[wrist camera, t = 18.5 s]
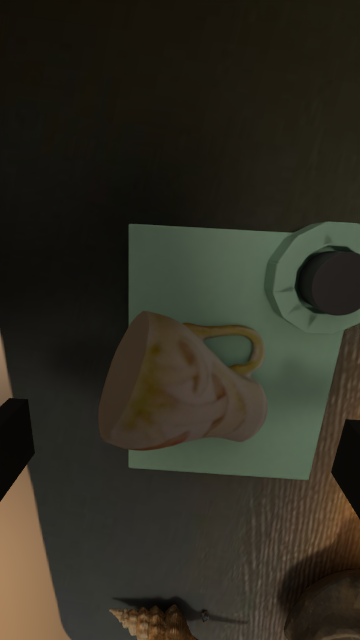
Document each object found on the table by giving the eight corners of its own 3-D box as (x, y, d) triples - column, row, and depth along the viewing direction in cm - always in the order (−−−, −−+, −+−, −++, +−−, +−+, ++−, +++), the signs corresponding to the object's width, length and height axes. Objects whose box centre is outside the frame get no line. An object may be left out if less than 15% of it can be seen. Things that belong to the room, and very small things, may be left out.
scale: (133, 216, 17) (120, 210, 14) (360, 228, 17) (402, 225, 14) (132, 451, 23) (122, 488, 19) (306, 463, 22) (327, 502, 19)
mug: (238, 436, 20) (158, 562, 12) (152, 346, 23) (38, 397, 15) (311, 373, 16) (269, 491, 8) (197, 275, 19) (81, 290, 11)
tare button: (303, 249, 15) (318, 250, 13) (362, 252, 15) (384, 254, 13) (293, 306, 16) (305, 314, 14) (348, 309, 16) (368, 317, 14)
